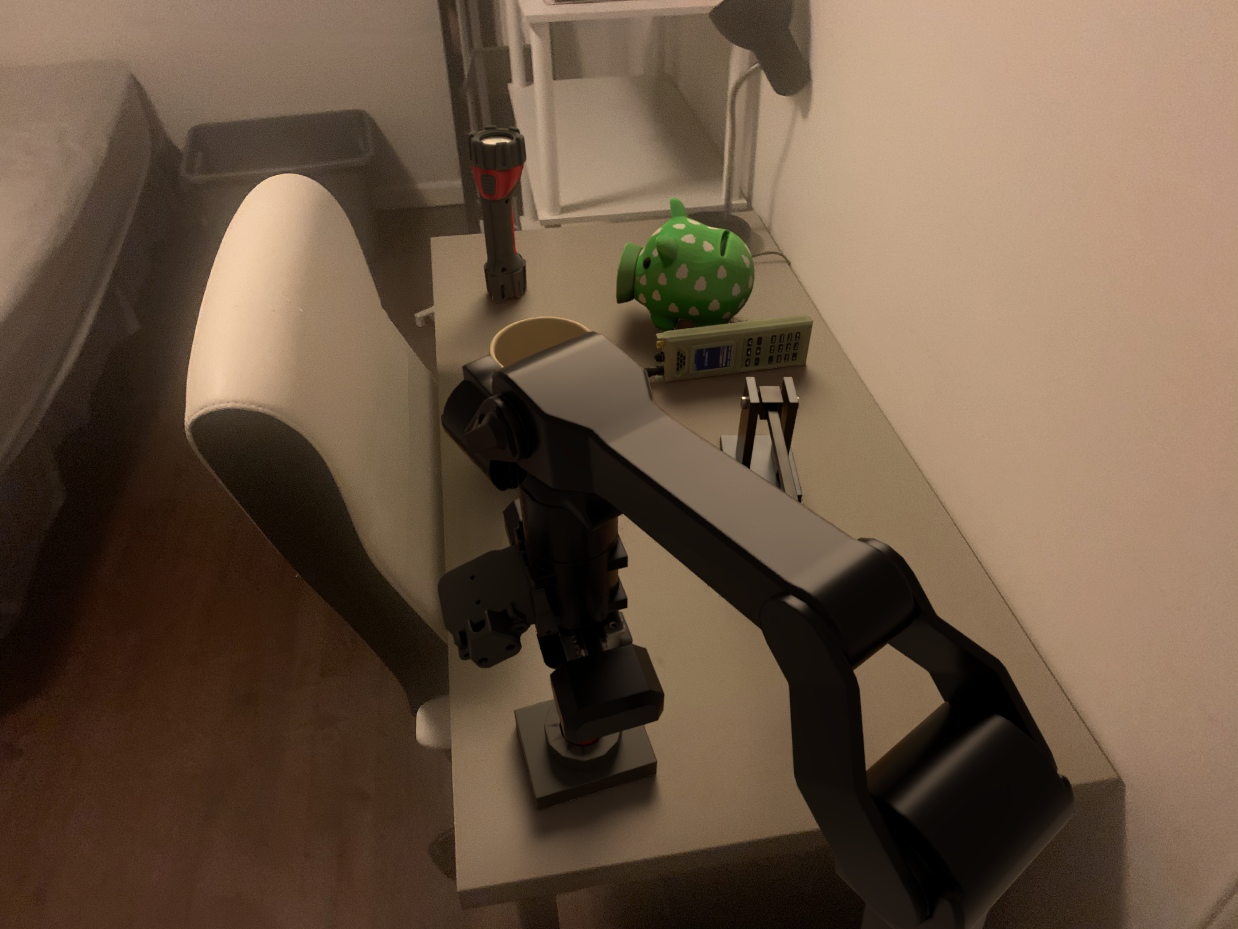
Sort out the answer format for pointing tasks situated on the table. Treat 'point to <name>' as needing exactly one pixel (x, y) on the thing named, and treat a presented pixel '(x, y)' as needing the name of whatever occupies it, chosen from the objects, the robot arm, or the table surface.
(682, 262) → the piggy bank
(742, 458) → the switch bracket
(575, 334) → the planter
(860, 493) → the table surface
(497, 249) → the flashlight
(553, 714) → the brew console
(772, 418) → the power lever
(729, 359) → the handheld radio
